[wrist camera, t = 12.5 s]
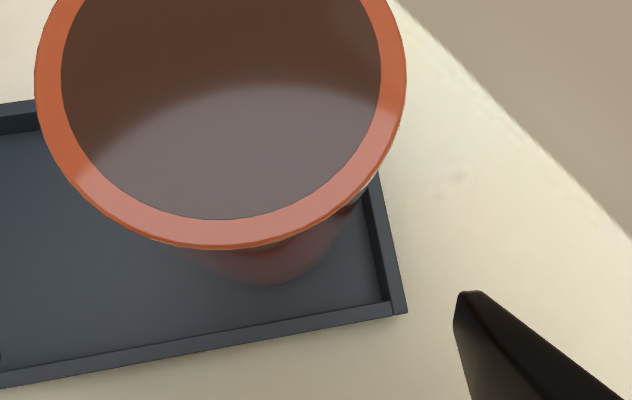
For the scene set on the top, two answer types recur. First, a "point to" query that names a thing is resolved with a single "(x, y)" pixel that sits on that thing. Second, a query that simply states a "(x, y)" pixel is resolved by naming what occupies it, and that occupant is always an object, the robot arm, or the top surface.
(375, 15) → the tumbler
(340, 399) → the top surface
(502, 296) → the top surface
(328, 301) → the tray
